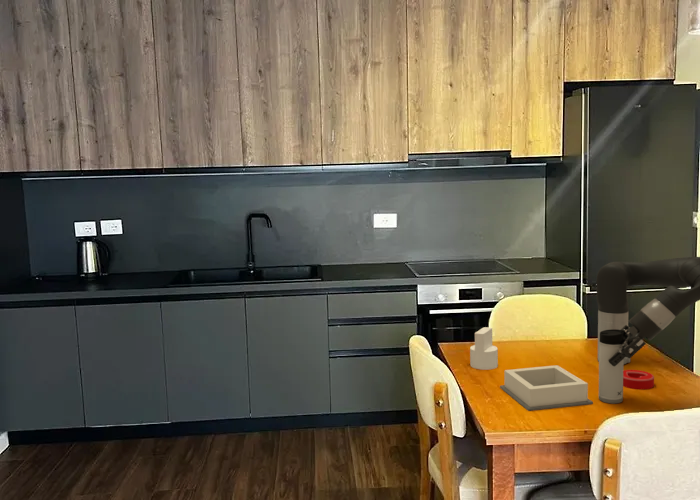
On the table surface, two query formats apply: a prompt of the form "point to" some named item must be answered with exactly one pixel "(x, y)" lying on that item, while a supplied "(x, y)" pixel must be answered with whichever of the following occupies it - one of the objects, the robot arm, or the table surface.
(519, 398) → the square shallow tray
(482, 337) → the cylinder with rectangular tab
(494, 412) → the table surface
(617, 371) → the travel mug
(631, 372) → the decorative ornament
